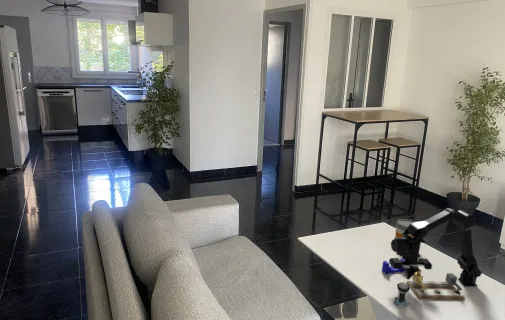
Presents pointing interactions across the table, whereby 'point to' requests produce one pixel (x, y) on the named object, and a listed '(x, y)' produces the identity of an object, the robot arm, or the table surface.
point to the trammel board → (436, 290)
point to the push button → (402, 294)
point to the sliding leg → (419, 279)
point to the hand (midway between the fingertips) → (407, 279)
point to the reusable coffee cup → (402, 226)
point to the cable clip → (390, 268)
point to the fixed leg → (452, 281)
